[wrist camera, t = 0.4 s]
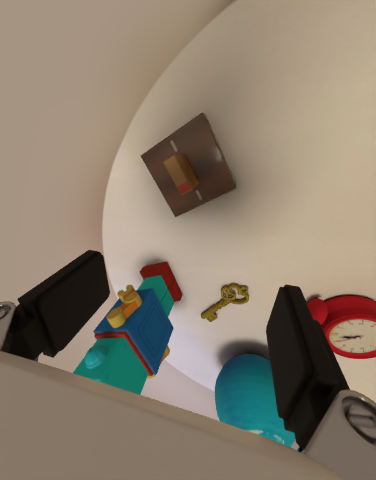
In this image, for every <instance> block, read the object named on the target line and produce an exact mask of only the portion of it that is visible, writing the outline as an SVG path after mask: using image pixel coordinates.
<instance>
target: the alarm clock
mask: <svg viewBox="0 0 376 480" xmlns="http://www.w3.org/2000/svg"><path fill="white" fill-rule="evenodd" d="M307 305H308V308H309V310H310V312H311V315H312V317H313V319H314V320H317V321H318V322H319V323H320V325H321V327H322V329H323V331H324V333H325V335H326V338H327V340H328V342H329V344H330V346H331V349H332V351H333V352H334V353H336V354H338V355H341V356H344V357H348V358H354V359H367V358H374V357H376V302H375V301H373V300H371V299H369V298H365V297H360V296H341V297H337V298H333V299H330V300H328V301H326V302H324V301H323V300H321V299H313V300H311V301H310V302H309V303H308V304H307Z"/></svg>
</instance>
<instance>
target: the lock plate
mask: <svg viewBox="0 0 376 480" xmlns="http://www.w3.org/2000/svg"><path fill="white" fill-rule="evenodd" d="M178 154H185V156H186V158H187V160H188V162H189V164H190V166H191V168H192V170H193V172H194V174H195V176H196V178H197V180H198V182H199V184H198V185H197V186H196V187H195V188H194V189H193V190H192V191H190V192H188V193H186V194H184V195H182V196H181V194H180V192H179V190H178V189H177V187H176V185H175V183H174V181H173V179H172V177H171V176H170V174H169V172H168V170H167V168H166V166H165V165H164V163H163V162H164V161H165V160H167V159H169V158H170V157H172V156H173V155H178ZM141 157H142V159H143V161H144V163H145V164H146V166H147V168H148V170H149V171H150V173H151V175H152V177H153V178H154V180H155V182H156V184H157V185H158V187H159V189H160V191H161V192H162V194H163V196H164V198H165V199H166V201H167V203H168V205H169V206H170V208H171V210H172V212H173V213H174V215H175V217H177V216H179V215H181V214H183V213H185V212H187V211H189V210H191V209H193V208H195V207H197V206H199V205H202V204H204V203H206V202H208V201H210V200H212V199H214V198H216V197H218V196H220V195H222V194H224V193H227V192H229V191H231V190H233V189H235V188H236V183H235V181H234V179H233V176H232V174H231V172H230V170H229V167H228V165H227V163H226V161H225V158H224V156H223V154H222V152H221V149H220V147H219V145H218V143H217V140H216V138H215V136H214V133H213V131H212V129H211V127H210V124H209V122H208V120H207V118H206V115H205V114H204V113H201V114H200V115H198V116H197V117H195V118H194V119H193V120H191V121H190V122H188V123H187V124H185V125H184V126H183V127H181V128H180V129H178V130H177V131H175V132H174V133H173V134H171V135H170V136H168V137H167V138H165V139H164V140H163V141H161V142H160V143H158V144H157V145H155V146H154V147H153V148H151V149H150V150H148V151H147V152H145V153H144V154H143V155H141Z"/></svg>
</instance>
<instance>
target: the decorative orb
mask: <svg viewBox="0 0 376 480" xmlns="http://www.w3.org/2000/svg"><path fill="white" fill-rule="evenodd" d="M215 402H216V409H217V414H218V417H219V420H220V421H221V422H223V423H226V424H229V425H232V426H235V427H238V428H240V429H243V430H246V431H249V432H252V433H255V434H258V435H260V436H263V437H266V438H268V439H271V440H273V441H276V442H278V443H281V444H283V445H286V446H288V447H291V446H292V444H293V443H294V441H295V434H294V433H293V432H290V431H287V430H285V428H284V422H283V419H282V418H279V416H278V412H277V406H276V398H275V391H274V384H273V377H272V370H271V363H270V360H268V359H267V358H265V357H262V356H259V355H256V354H241V355H238V356H235V357H233V358H232V359H230V360H229V361H228V362H226V364H225V365H224V366H223V368H222V370H221V371H220V373H219V375H218V378H217V380H216V385H215Z"/></svg>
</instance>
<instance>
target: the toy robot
mask: <svg viewBox="0 0 376 480" xmlns="http://www.w3.org/2000/svg"><path fill="white" fill-rule="evenodd" d="M140 273H141V275H142V277H143V279H144V281H143V283H142V284H141V286H140V287H139V288H138V290H137V291H135V289H134V288H133V286H132V285H127V287H126V289H127V291H125V292H123V290H122V291H119V292H118V296H119V300H118V301H117V302H116V303H115V305H114V306H113V307H112V309H111V310H110V311H109V312H108V314H107V315H106V316H105V317H104V319H103V320H102V321H101V322H100V324H99V325H98V326H97V327H96V329H95V330H94V333H95V338H96V339H97V341H96V343H95V344H94V346H93V347H91V348H90V349H89V350H88V351H87V353H86V355H85V357H84V359H83V360H82V361H81V363H80V364H79V365H78V367H77V368H76V369H75V371H74V372H73V373H74V374H77V375H80V376H83V377H86V378H89V379H92V380H95V381H99V382H102V383H105V384H108V385H111V386H114V387H117V388H120V389H123V390H126V391H129V392H133V393H136V394H139V395H140V394H141V391H142V389H143V386H144V384H145V381H146V378H149V379H150V378H152V377H154V376H155V375H156V374H157V372H158V369H159V366H160V364H161V362H162V361H163V360H164V358H166V357H167V356H168V354H169V352H170V349H169V347H168V346H167V344H168V342H169V339H170V336H171V333H172V331H173V326H172V324H171V322H170V320H169V318H168V316H169V314H170V311H171V309H172V306H173V304H174V302H176V301H180V300H181V297H182V293H181V291H180V289H179V287H178V284H177V282H176V280H175V278H174V276H173V274H172V272H171V269H170V267H169V265H168V263H167V262H164V263H159V264H154V265H150V266H145V267H143V268H142V269H141V271H140Z"/></svg>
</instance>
